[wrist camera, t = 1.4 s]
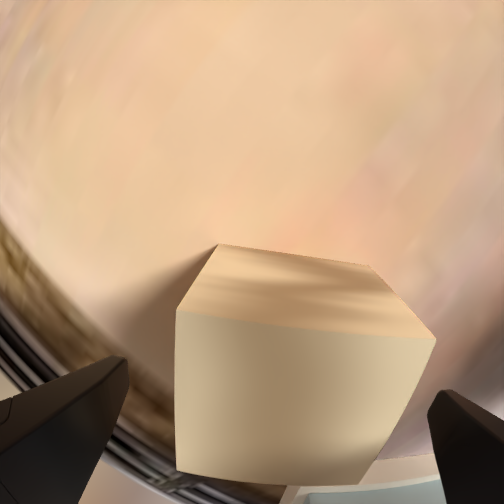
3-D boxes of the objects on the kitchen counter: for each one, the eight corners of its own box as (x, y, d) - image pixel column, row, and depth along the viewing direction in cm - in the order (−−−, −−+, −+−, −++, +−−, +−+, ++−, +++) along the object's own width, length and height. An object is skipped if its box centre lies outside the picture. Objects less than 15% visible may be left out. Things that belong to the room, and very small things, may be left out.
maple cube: (368, 264, 11) (436, 339, 6) (333, 384, 12) (357, 484, 7) (219, 243, 11) (176, 309, 6) (207, 369, 13) (176, 470, 7)
